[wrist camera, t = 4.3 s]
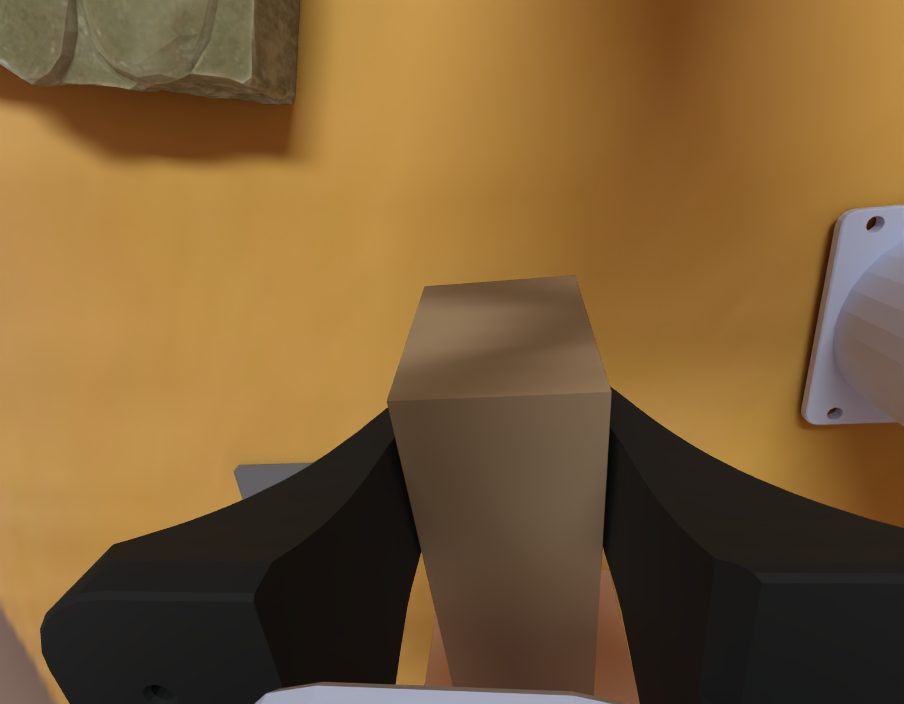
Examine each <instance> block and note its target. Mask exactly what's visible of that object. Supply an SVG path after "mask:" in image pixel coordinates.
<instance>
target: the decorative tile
mask: <svg viewBox="0 0 904 704" xmlns="http://www.w3.org/2000/svg"><path fill="white" fill-rule="evenodd" d="M299 13H300V0H0V64H1V65H2V66H4V67H5V68H7V69H8V70H10V71H11V72H13V73H14V74H16V75H17V76H18V77H20V78H21V79H23V80H25V81H27V82H29V83H30V84H33V85H39V86H51V87H52V86H66V85H79V84H82V85H91V86H109V87H118V88H125V89H129V90H133V91H137V92H155V91H160V90H165V91H169V92H173V93H188V94H191V95H195V96H205V97H208V98H214V99H215V98H227V99H240V100H243V101H256V102H258V103H262V104H287V105H292V104H293V101H294V98H295V90H296V71H297V51H298V31H299Z"/></svg>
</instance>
